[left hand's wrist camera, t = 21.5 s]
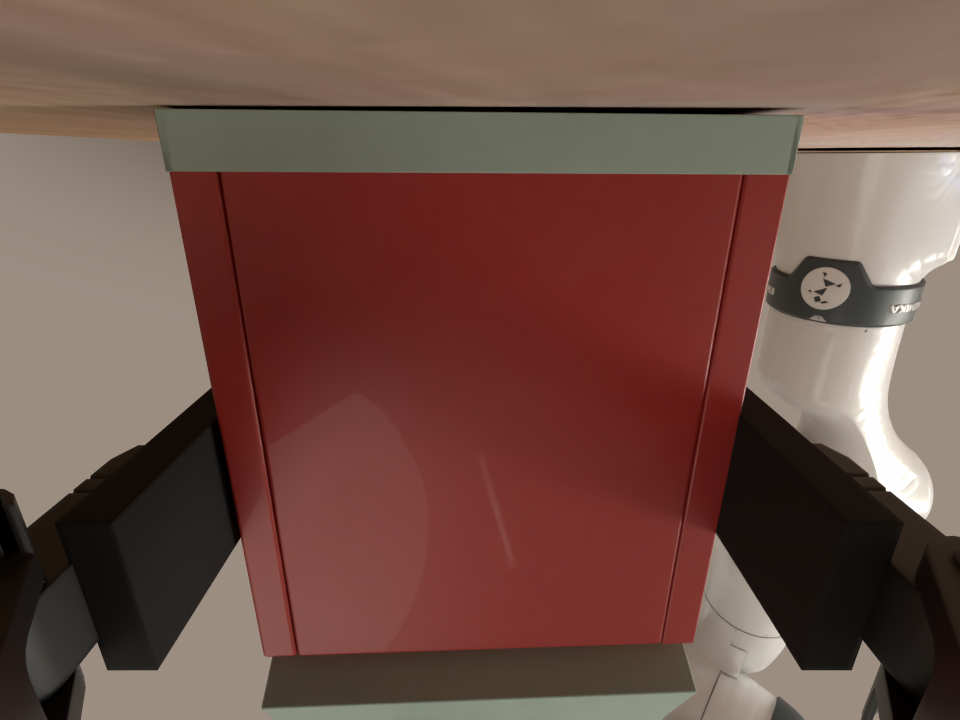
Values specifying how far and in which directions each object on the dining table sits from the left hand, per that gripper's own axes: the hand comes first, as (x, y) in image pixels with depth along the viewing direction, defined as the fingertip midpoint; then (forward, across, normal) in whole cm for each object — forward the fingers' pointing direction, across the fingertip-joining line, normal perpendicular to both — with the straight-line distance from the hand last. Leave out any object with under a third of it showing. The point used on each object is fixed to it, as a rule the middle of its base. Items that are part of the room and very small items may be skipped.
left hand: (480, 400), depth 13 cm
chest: (+3, 0, -6) cm, 7 cm away
